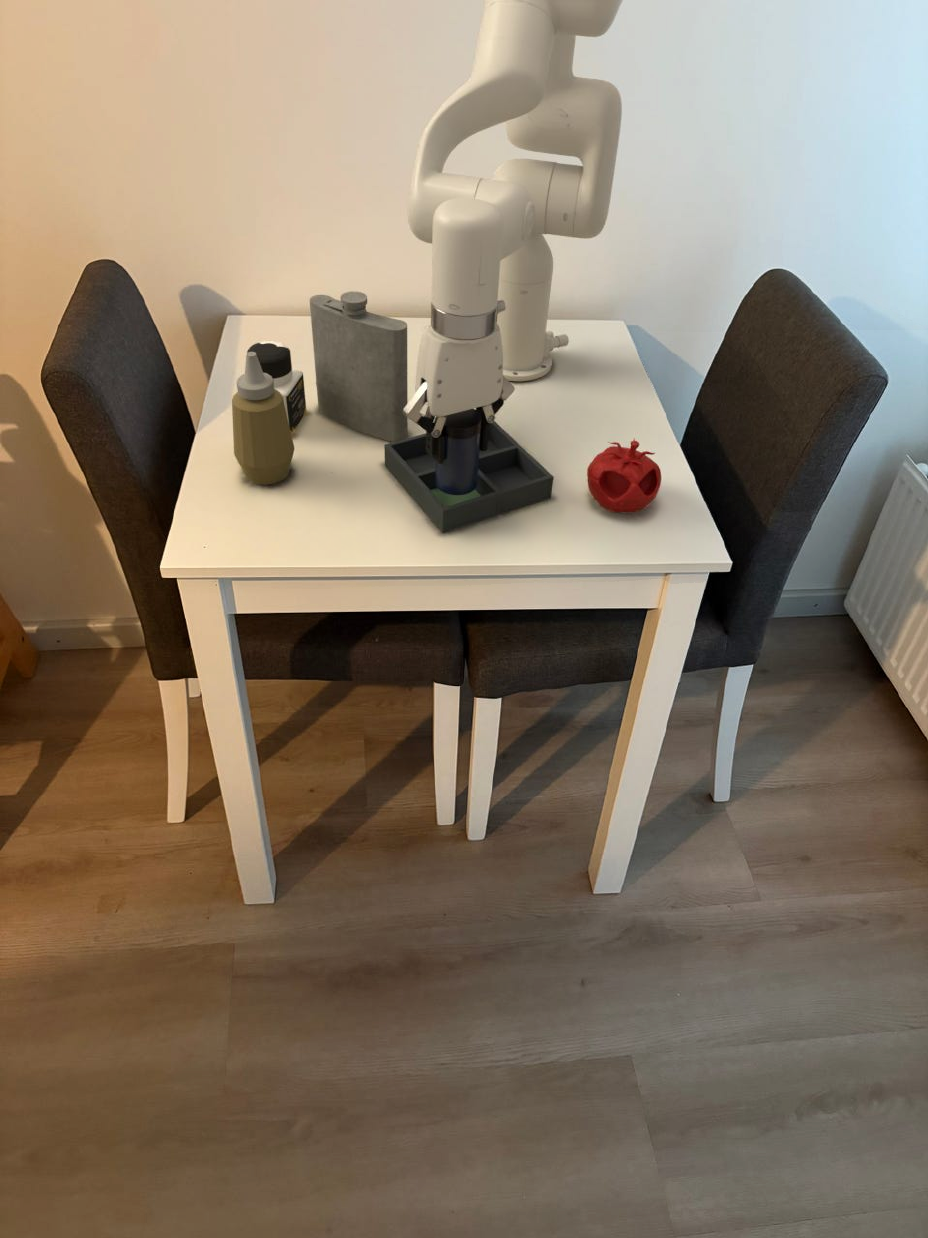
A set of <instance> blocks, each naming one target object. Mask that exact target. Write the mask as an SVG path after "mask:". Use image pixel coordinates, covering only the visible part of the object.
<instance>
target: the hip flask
mask: <svg viewBox="0 0 928 1238" xmlns="http://www.w3.org/2000/svg"><path fill="white" fill-rule="evenodd" d="M367 305H368V296H367V294H366V293H364V292H362V291H347V292H344V293H342V294H341V295H340V300H339V299H336V298H333V297H332V296H330V295H327V294H315V295H312V296H311V297H310V298H309V312H310V320H311V322H310V323H311V334H312V346H313V347H312V348H313V357H314V358H313V359H314V373H315V384H316V397H317V406H318V412H319V413H320V414H321V415H323V416H325V417H327V418H328V419H330V420H332V421H334V422H336V423H338V424H340V425H342V426H344V427H347V428H349V429H351V430H354V431H357V432H359V433H362V434H364V435H367V436H371V437H373V438H377V439H380V440H383V441H388V442H395V441H399V440H403V439H406V438H409V437H408V426H409V425H408V422H409V421H408V420H409V419H408V418H407V417H406V416H405V415H404V414H403V409H404V407H405V406H406V405H407V403H408V323H407V322H406V321H404V320H401V319H396V318H393V317H389V316H388V317H387V316H384V315H380V314H376V313H373V312H370V311H367Z"/></svg>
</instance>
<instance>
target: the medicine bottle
mask: <svg viewBox="0 0 928 1238" xmlns="http://www.w3.org/2000/svg"><path fill="white" fill-rule="evenodd" d="M248 352H255V353H256V355H257V358H258V360H259V363H260V366H261V368H262V371H263V373H267V374H268V375H270V376H272V378H273V381H274V389H276V390H277V391H279V392H280V393H281V395H282V397H283V401H284V405H285V410H286V414H287V419H288V423H289V427H290V432H291V436H293V435H294V433H295V431H296V430H297V428H298V427H299V425H300V424H301V422H302V420H303V419H304V417H305V416H306V414H307V403H306V402H307V401H306V392H305V391H306V390H305V381H304V380H305V379H304V372H303V371H302V370H298V369H293V363H292V355H291V349H290V348H289V347H288V345H286V344H285V343H283V342H280V341H277V340H276V341H274V340H264V341H260V342H256V343H254V344H252V345H251V346H250V347H249V348H248V349H247V351H246V354H247V353H248Z"/></svg>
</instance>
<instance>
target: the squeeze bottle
mask: <svg viewBox="0 0 928 1238" xmlns="http://www.w3.org/2000/svg"><path fill="white" fill-rule="evenodd" d="M244 367H245V368H244V373H243V374H241V375H240V376H239V377H238V378H237V379H236V382H235V383H236V388H237V389H236V390H237V392H236V393H234V394H233V395H232V399H231V413H232V415H231V416H232V436H233V454H234V455H233V456H234V458H235V459H236V461H237V463H238V464H239V466H240V468H241V470H242V471H243V473H244V475H245V477H246V478H247V480H249V481H250V482H252V483H253V484H257V485H272V484H273V485H274V484H277V483H279V482H281V481H283V480H285V479H286V478H287V476H288V475H289V472H290V469H291V464H292V461H293V457H294V452H295V445H294V441H293V437H292V436H293V435H292V436H291V432H290V427H289V423H288V419H287V414H286V410H285V405H284V401H283V397H282V395H281V393H280V392H279V391H277V390H276V389H274V381H273V378H272V376H270V375H268V374H267V373H263V371H262V368H261V366H260V363H259V360H258V358H257V355H256V353H255V352H248V353H247V352H246V356H245V366H244Z"/></svg>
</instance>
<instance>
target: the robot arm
mask: <svg viewBox="0 0 928 1238" xmlns="http://www.w3.org/2000/svg"><path fill="white" fill-rule="evenodd" d="M623 1H624V0H484V4H483V10H482V13H481V14H482V15H481V20H480V26H479V32H478V36H477V41H476V47H475V51H474V52H475V53H474V57H473V62H472V63H473V64H472V68H471V69H472V70H471V74H470V76H469V79H468V80H467V81H466V82H465V83H463V84H462V85H461V86H460V87H459V88H458V89H456V90H455V91H454V92H453V93H452V94H451V95H450V96H449V97H448V98H447V99H446V100H445V101H444V102H443V103H442V105H440V106H439V108H438V109H437V110H436V112H435V113H434V114H433V116H432V118H431V119H430V120H429V121H428V123H427V124H426V127H424V128H425V129H424V130H423V133H422V134H421V137H420V138H419V143H418V145H417V150H416V154H415V158H414V165H413V170H412V175H411V180H410V186H409V192H408V200H407V220H408V221H407V222H408V225H409V229H410V231H411V232H412V234H413V235H414V236H415V238H417V240H420V242H423V243H426V244H431V247H432V248H431V295H430V297H431V299H430V300H431V301H430V302H431V303H430V325H427V326H425V327H424V329H423V332H422V336H421V340H420V345H419V349H418V356H417V362H416V372H415V386H414V388H415V390H414V391H415V392H414V394H413V395H412V397H411V398H410V399H409V401H407V405H406V406H405V407H404V409H403V414H404V415H405V416H406V417H407V418H408V420H410V421H411V422H413V423H414V424H416V425H417V426H419V427H420V428H421V429H423V430H424V431H425V433H426V451H427V453H428V454H429V455H430V456H432V457H433V458H434V460H435V461H436V462H437V463H438V464H440V463H443V462H444V449H445V437H444V435H443V434H442V433H441V432H442V429H443V426H444V423H445V421H446V418H447V415H450V414H454V413H458V412H462V411H466V410H470V409H475V410H477V411H478V412H479V413H480V414H481V417H482V421H481V436H480V450H481V451H487V447H488V440H489V436H490V423H492V422H493V421H496V415H497V413H498V412H499V411H500V409H502V407H503V406H504V405H505V404H504V403H505V401H507V400H508V398H509V397H510V396H511V395H512V394H513V393H514V392H515V390H516V387H515V386H514V385H513V384H512V383H511V382H528V381H533V380H537V379H539V378H542V377H544V376H545V375H547V374H548V373H549V372H550V371H551V369H552V363H553V358H552V355H551V354H550V352H553V350H554V349H556V348H557V349H559V348H563V347H566V346H568V345H569V336H568V335H567V334H566V333H563V334H559V335H556V336H555V335H554V332H553V330H549V331H547V326H548V316H549V309H550V300H551V292H552V291H551V290H552V280H553V273H554V257H553V253H552V249H551V247H550V246H549V243H548V241H547V239H546V238H545V236H544V235H552V236H558V237H559V236H560V237H567V238H573V239H584V240H585V239H588V240H589V239H593V238H596V237H597V236H599V235H600V234H601V232H602V231H603V230H604V228H605V225H606V223H607V222H606V221H607V219H608V216H609V215H608V214H609V209H610V206H611V205H610V204H611V198H612V191H613V184H614V178H615V176H614V175H615V169H616V162H617V156H618V148H619V140H620V134H621V126H622V117H623V116H622V113H623V108H622V107H623V103H622V97H621V94H620V91H619V89H618V88H617V87H616V85H614V84H613V83H611V82H610V81H607V80H603V79H597V78H587V77H579V76H576V75H574V71H573V65H574V55H575V47H576V40H577V39H576V37H586V38H588V37H589V38H598V37H601V36H603V35H605V34H606V33H607V32H608V31H609V30H610V28H611V26H612V25H613V23H614V21H615V19H616V17H617V14H618V12H619V9H620V7H621V5H622V3H623ZM503 123H505V129H506V130H505V131H506V136H507V138H508V140H509V141H508V142H510V143H511V144H512V145H513V146H514V147H516V148H518V149H521V150H524V151H528V152H529V151H530V152H534V153H541V154H542V153H543V154H550V155H557V156H566V157H574V158H577V159H578V160H580V162H581V165H579V164H569V163H561V162H560V163H559V162H557V161H548V160H540V159H532V158H514V159H510V160H506V161H505V162H502V163H501V164H500V165H499V166H498V167H497V168H496V170H495V171H494V173H493V175H492V177H491V178H485V177H476V176H472V175H471V176H470V175H469V176H468V175H463V174H456V173H448V172H447V173H446V172H443V170H444V167H445V164H446V162H447V160H448V158H449V156H450V155H451V153H452V152H453V151H454V150H455V149H456V148H457V147H458V146H459V145H460V144H461V143H462V142H464V141H465V140H466V139H468V138H470V137H472V136H474V135H475V134H477V133H479V132H480V133H481V132H482V131H485V130H487V129H490V128H492V127H495V126H498V125H500V124H503ZM426 404H427V408H426V411H425V413H424V414H423V413H422V412H421V410H422V409H423V408H424V406H425V405H426Z"/></svg>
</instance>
